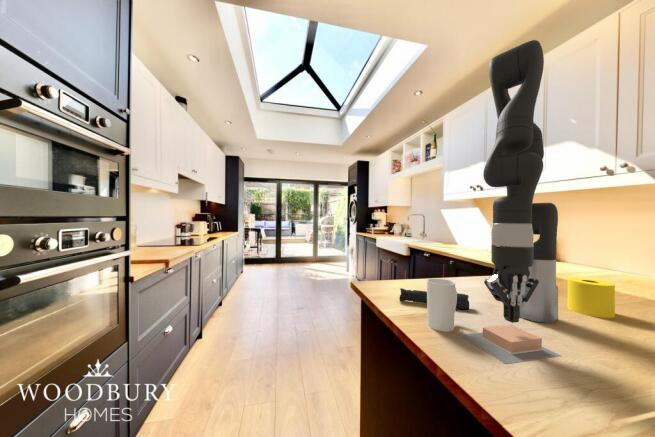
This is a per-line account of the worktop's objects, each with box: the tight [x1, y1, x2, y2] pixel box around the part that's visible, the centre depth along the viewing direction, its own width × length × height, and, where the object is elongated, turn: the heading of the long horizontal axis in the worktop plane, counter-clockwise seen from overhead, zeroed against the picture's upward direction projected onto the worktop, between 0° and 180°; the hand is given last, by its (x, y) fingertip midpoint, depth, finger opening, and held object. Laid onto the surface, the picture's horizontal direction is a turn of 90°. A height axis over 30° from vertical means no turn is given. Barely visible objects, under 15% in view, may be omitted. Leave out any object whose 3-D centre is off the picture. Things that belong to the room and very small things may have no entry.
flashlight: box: [399, 287, 470, 311], centre depth 81 cm, size 5×21×5 cm, turn 67°
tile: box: [482, 324, 543, 354], centre depth 55 cm, size 2×7×8 cm
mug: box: [426, 277, 457, 333], centre depth 64 cm, size 10×7×12 cm, turn 119°
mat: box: [458, 332, 562, 365], centre depth 54 cm, size 14×12×1 cm
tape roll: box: [567, 277, 616, 319], centre depth 76 cm, size 10×10×9 cm
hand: (511, 321), depth 55 cm, fingers closed
